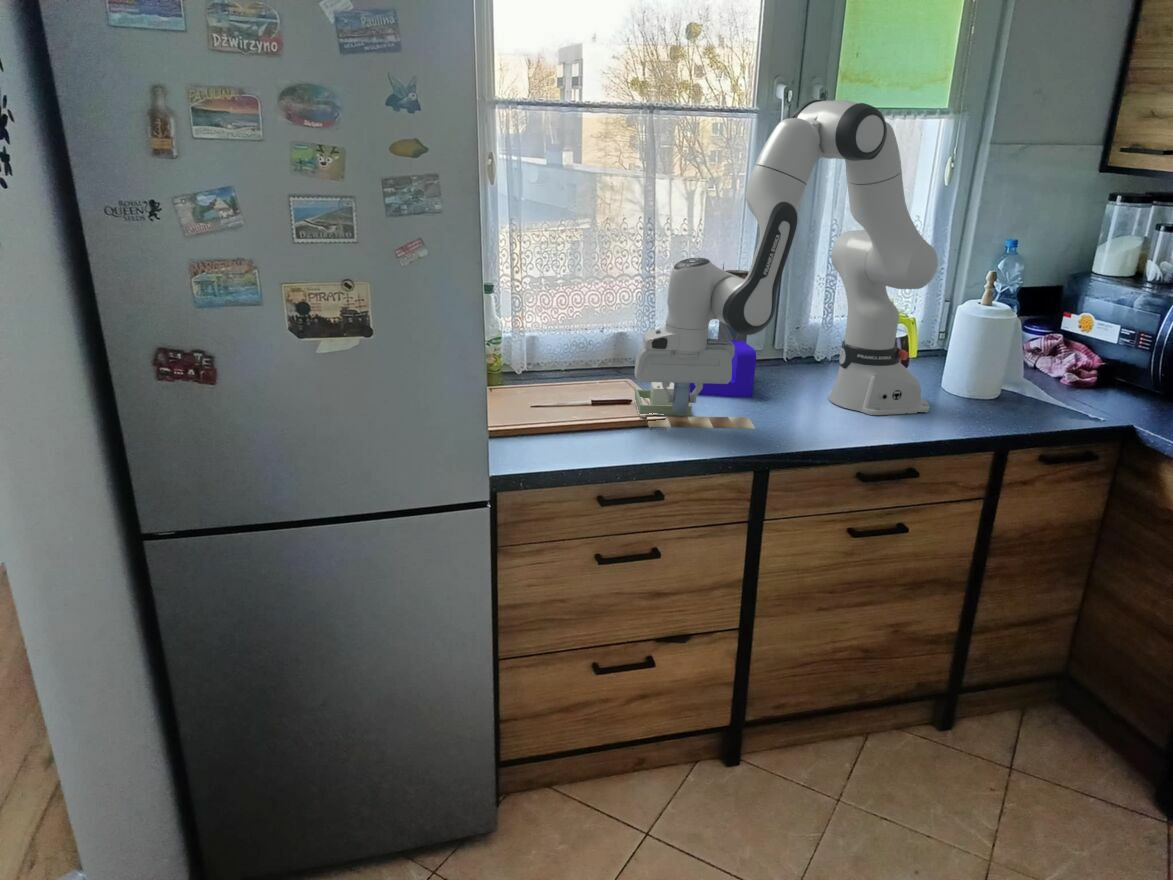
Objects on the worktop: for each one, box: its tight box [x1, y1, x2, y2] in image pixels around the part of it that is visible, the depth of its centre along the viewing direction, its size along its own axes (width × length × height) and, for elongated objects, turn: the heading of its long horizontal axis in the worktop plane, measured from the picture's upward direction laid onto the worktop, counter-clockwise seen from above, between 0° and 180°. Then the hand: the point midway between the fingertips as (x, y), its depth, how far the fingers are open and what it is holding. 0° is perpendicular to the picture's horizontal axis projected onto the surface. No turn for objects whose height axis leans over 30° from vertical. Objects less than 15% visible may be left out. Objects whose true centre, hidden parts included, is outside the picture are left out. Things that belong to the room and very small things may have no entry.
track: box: [647, 415, 756, 430], centre depth 188 cm, size 22×7×1 cm, turn 93°
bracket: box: [674, 341, 757, 398], centre depth 207 cm, size 18×11×12 cm, turn 101°
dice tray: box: [634, 389, 692, 416], centre depth 196 cm, size 11×11×3 cm
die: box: [650, 382, 674, 405], centre depth 195 cm, size 5×5×5 cm
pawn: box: [672, 383, 690, 414], centre depth 185 cm, size 3×3×8 cm
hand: (680, 401), depth 186 cm, fingers closed on pawn, 3 cm apart
